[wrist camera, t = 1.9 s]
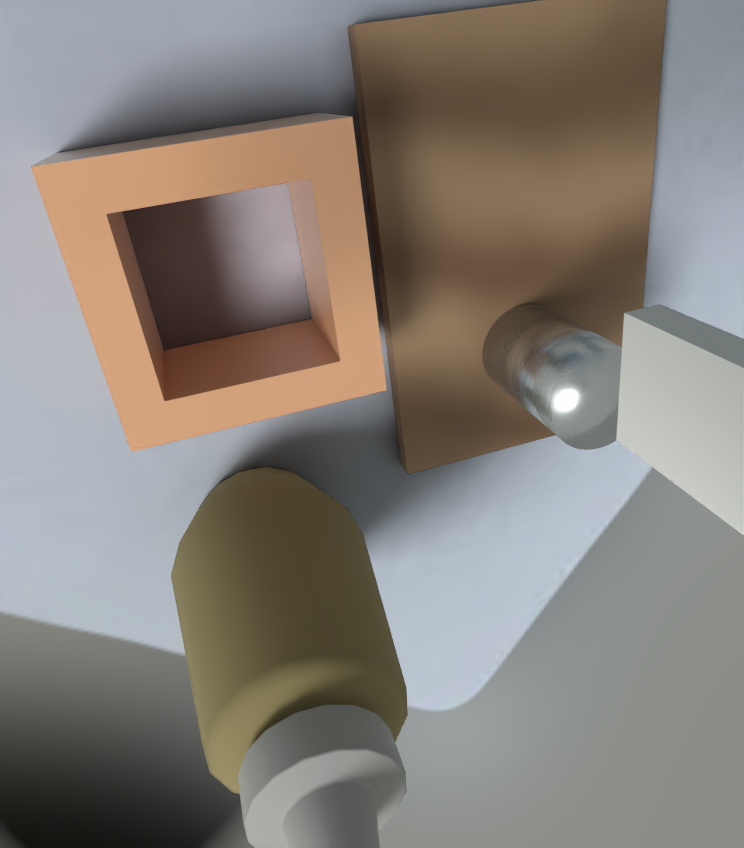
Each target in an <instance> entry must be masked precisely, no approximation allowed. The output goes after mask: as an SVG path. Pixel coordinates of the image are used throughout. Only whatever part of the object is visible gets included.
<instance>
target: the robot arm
mask: <svg viewBox="0 0 744 848" xmlns="http://www.w3.org/2000/svg"><path fill="white" fill-rule="evenodd" d="M616 440H617V441H619V442H620V443H621V444H623V445H624V446H625V447H627V448H628V449H629V450H631V451H632V452H633V453H635V454H636V455H637V456H639V457H640V458H641V459H643V460H644V461H645V462H647V463H648V464H649V465H651V466H652V467H653V468H655V469H656V470H657V471H659V472H660V473H661V474H663V475H664V476H665V477H667V478H668V479H669V480H671V481H672V482H673V483H675V484H676V485H677V486H679V487H680V488H681V489H683V490H684V491H685V492H687V493H688V494H689V495H691V496H692V497H693V498H695V499H696V500H697V501H699V502H700V503H701V504H703V505H704V506H705V507H707V508H708V509H709V510H711V511H712V512H713V513H715V514H716V515H717V516H719V517H720V518H721V519H723V520H724V521H725V522H727V523H728V524H729V525H731V526H732V527H733V528H735V529H736V530H738V531H739V532H740V533H741V534H743V535H744V339H743V338H740V337H738V336H735V335H733V334H730V333H728V332H726V331H723V330H721V329H718V328H716V327H713V326H711V325H709V324H706V323H704V322H701V321H699V320H697V319H694V318H692V317H689V316H687V315H684V314H682V313H680V312H677V311H675V310H672V309H670V308H668V307H665V306H663V305H660V304H659V305H655V306H651V307H646V308H642V309H638V310H634V311H629V312H625V313H624V324H623V340H622V356H621V372H620V388H619V404H618V421H617V437H616Z"/></svg>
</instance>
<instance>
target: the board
mask: <svg viewBox="0 0 744 848" xmlns="http://www.w3.org/2000/svg"><path fill="white" fill-rule="evenodd" d="M666 3H667V0H540V1H532V2H524V3H516V4H509V5H501V6H493V7H485V8H478V9H470V10H462V11H454V12H446V13H439V14H431V15H423V16H415V17H408V18H400V19H392V20H384V21H376V22H369V23H361V24H354V25H352V26H349V27H348V33H349V42H350V50H351V58H352V66H353V74H354V83H355V91H356V99H357V107H358V116H359V124H360V132H361V140H362V148H363V157H364V165H365V173H366V181H367V190H368V198H369V206H370V214H371V222H372V231H373V239H374V247H375V255H376V264H377V272H378V280H379V288H380V296H381V305H382V313H383V321H384V329H385V338H386V346H387V354H388V362H389V370H390V379H391V387H392V395H393V403H394V411H395V420H396V428H397V436H398V444H399V453H400V461H401V465H402V467H403V468H404V470H405V471H406V473H407V474H412V473H416V472H419V471H423V470H427V469H431V468H434V467H438V466H442V465H445V464H449V463H453V462H457V461H460V460H464V459H468V458H472V457H475V456H479V455H483V454H486V453H490V452H494V451H498V450H501V449H505V448H509V447H513V446H516V445H520V444H524V443H527V442H531V441H535V440H539V439H542V438H546V437H550V436H554V435H556V434H555V433H553V432H552V431H551V430H550V429H549V428H548V427H546V426H545V425H544V424H543V423H542V422H541V421H539V420H538V419H537V418H536V417H535V416H534V415H532V414H531V413H530V412H529V411H528V410H527V409H525V408H524V407H523V406H522V405H521V404H520V403H518V402H517V401H516V400H515V399H514V398H513V397H511V396H510V395H509V394H508V393H507V392H506V391H504V390H503V389H502V388H501V387H500V386H499V385H498V384H496V383H495V382H494V381H493V380H492V379H491V378H490V377H489V376H488V374H487V372H486V370H485V368H484V364H483V358H482V352H483V345H484V341H485V338H486V336H487V334H488V332H489V330H490V328H491V327H492V325H493V324H494V323H495V321H496V320H497V319H498V318H499V317H500V316H501V315H503V314H504V313H505V312H507V311H508V310H510V309H511V308H514V307H516V306H518V305H522V304H527V303H537V304H542V305H545V306H547V307H549V308H551V309H552V310H554V311H556V312H558V313H560V314H562V315H563V316H565V317H567V318H569V319H571V320H573V321H574V322H576V323H578V324H580V325H582V326H583V327H585V328H587V329H589V330H591V331H593V332H594V333H596V334H598V335H600V336H602V337H604V338H605V339H607V340H609V341H611V342H613V343H615V344H616V345H618V346H620V347H622V340H623V324H624V313H625V312H629V311H634V310H638V309H642V308H643V296H644V283H645V271H646V258H647V245H648V232H649V220H650V207H651V194H652V181H653V169H654V156H655V143H656V130H657V118H658V105H659V92H660V79H661V67H662V54H663V41H664V28H665V16H666Z"/></svg>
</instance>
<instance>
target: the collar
mask: <svg viewBox="0 0 744 848" xmlns="http://www.w3.org/2000/svg"><path fill="white" fill-rule="evenodd" d="M31 169H32V172H33V174H34V177H35V180H36V183H37V186H38V189H39V191H40V194H41V197H42V200H43V203H44V206H45V208H46V211H47V214H48V217H49V220H50V223H51V225H52V228H53V231H54V234H55V237H56V240H57V242H58V245H59V248H60V251H61V254H62V257H63V259H64V262H65V265H66V268H67V271H68V274H69V276H70V279H71V282H72V285H73V288H74V291H75V293H76V296H77V299H78V302H79V305H80V308H81V310H82V313H83V316H84V319H85V322H86V325H87V327H88V330H89V333H90V336H91V339H92V342H93V344H94V347H95V350H96V353H97V356H98V359H99V361H100V364H101V367H102V370H103V373H104V376H105V378H106V381H107V384H108V387H109V390H110V393H111V395H112V398H113V401H114V404H115V407H116V410H117V412H118V415H119V418H120V421H121V424H122V427H123V429H124V432H125V435H126V438H127V441H128V444H129V446H130V449H131V452H132V451H137V450H141V449H145V448H149V447H153V446H157V445H161V444H166V443H170V442H174V441H178V440H182V439H186V438H190V437H195V436H199V435H203V434H207V433H211V432H215V431H220V430H224V429H228V428H232V427H236V426H240V425H244V424H249V423H253V422H257V421H261V420H265V419H269V418H273V417H278V416H282V415H286V414H290V413H294V412H298V411H303V410H307V409H311V408H315V407H319V406H323V405H327V404H332V403H336V402H340V401H344V400H348V399H352V398H357V397H361V396H365V395H369V394H373V393H377V392H381V391H386V390H387V388H386V380H385V372H384V364H383V356H382V348H381V340H380V332H379V324H378V316H377V308H376V300H375V292H374V284H373V276H372V269H371V261H370V253H369V245H368V237H367V229H366V221H365V213H364V205H363V197H362V189H361V181H360V173H359V165H358V157H357V149H356V141H355V133H354V126H353V118H352V116H343V115H334V114H324V113H313V114H306V115H300V116H293V117H287V118H280V119H274V120H267V121H261V122H254V123H248V124H241V125H234V126H228V127H221V128H215V129H208V130H202V131H195V132H189V133H182V134H176V135H169V136H163V137H156V138H150V139H143V140H137V141H130V142H124V143H117V144H111V145H104V146H98V147H91V148H85V149H78V150H72V151H65V152H59V153H55V154H53V155H52V156H50V157H48V158H46V159H44V160H42V161H41V162H39V163H37V164H35V165H33V166H31ZM283 183H288V186H289V192H290V197H291V203H292V209H293V214H294V220H295V226H296V231H297V237H298V243H299V248H300V254H301V260H302V265H303V271H304V277H305V282H306V288H307V294H308V299H309V305H310V310H311V316H312V319H308V320H303V321H299V322H294V323H289V324H285V325H280V326H276V327H271V328H266V329H262V330H257V331H252V332H248V333H243V334H238V335H234V336H229V337H224V338H220V339H215V340H210V341H206V342H201V343H196V344H192V345H187V346H182V347H178V348H173V349H168V350H164V349H163V345H162V342H161V339H160V335H159V332H158V329H157V325H156V322H155V319H154V315H153V312H152V309H151V305H150V302H149V299H148V295H147V292H146V289H145V285H144V282H143V278H142V275H141V272H140V268H139V265H138V262H137V258H136V255H135V252H134V248H133V245H132V242H131V238H130V235H129V232H128V228H127V225H126V222H125V218H124V215H123V211H127V210H133V209H138V208H144V207H150V206H156V205H162V204H167V203H173V202H179V201H185V200H191V199H196V198H202V197H208V196H214V195H219V194H225V193H231V192H237V191H243V190H248V189H254V188H260V187H266V186H272V185H277V184H283Z"/></svg>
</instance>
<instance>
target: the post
mask: <svg viewBox="0 0 744 848" xmlns="http://www.w3.org/2000/svg"><path fill="white" fill-rule="evenodd" d="M621 356H622V347H620V346H618V345H616V344H615V343H613V342H611V341H609V340H607V339H605V338H604V337H602V336H600V335H598V334H596V333H594V332H593V331H591V330H589V329H587V328H585V327H583V326H582V325H580V324H578V323H576V322H574V321H573V320H571V319H569V318H567V317H565V316H563V315H562V314H560V313H558V312H556V311H554V310H552V309H551V308H549V307H547V306H545V305H542V304H537V303H527V304H522V305H518V306H516V307H514V308H511V309H510V310H508V311H507V312H505V313H504V314H503V315H501V316H500V317H499V318H498V319H497V320H496V321H495V323H494V324H493V325H492V327H491V328H490V330H489V332H488V334H487V336H486V338H485V341H484V345H483V352H482V358H483V364H484V368H485V370H486V372H487V374H488V376H489V377H490V378H491V379H492V380H493V381H494V382H495V383H496V384H498V385H499V386H500V387H501V388H502V389H503V390H504V391H506V392H507V393H508V394H509V395H510V396H511V397H513V398H514V399H515V400H516V401H517V402H518V403H520V404H521V405H522V406H523V407H524V408H525V409H527V410H528V411H529V412H530V413H531V414H532V415H534V416H535V417H536V418H537V419H538V420H539V421H541V422H542V423H543V424H544V425H545V426H546V427H548V428H549V429H550V430H551V431H552V432H553V433H555V434H556V435H557V436H558V437H559V438H560V439H562V440H563V441H564V442H565V443H566V444H568V445H570V446H572V447H574V448H578V449H585V450H589V449H596V448H600V447H603V446H606V445H608V444H610V443H612V442H614V441H616V437H617V421H618V404H619V388H620V372H621Z"/></svg>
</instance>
